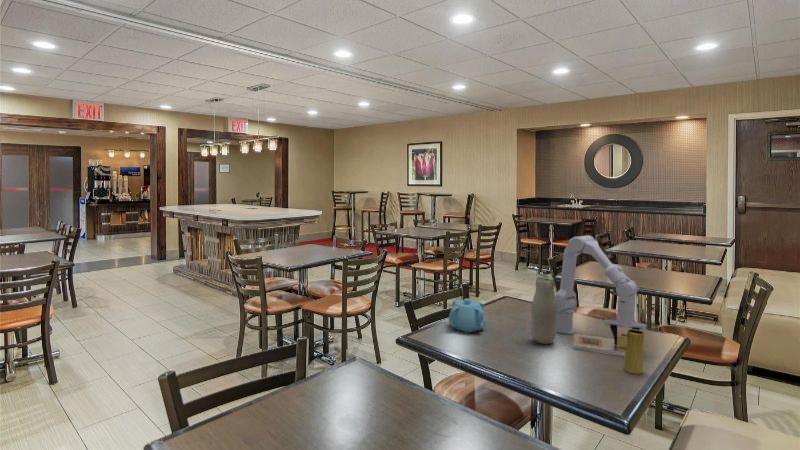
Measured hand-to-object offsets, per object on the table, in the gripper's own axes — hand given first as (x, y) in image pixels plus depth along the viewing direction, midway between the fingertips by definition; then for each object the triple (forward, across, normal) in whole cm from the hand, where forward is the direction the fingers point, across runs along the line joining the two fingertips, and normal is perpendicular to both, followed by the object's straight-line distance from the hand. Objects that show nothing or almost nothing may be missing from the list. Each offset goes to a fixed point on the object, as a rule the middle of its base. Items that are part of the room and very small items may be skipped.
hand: (623, 344), depth 178 cm
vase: (+2, +2, -20) cm, 20 cm away
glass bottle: (+2, -30, -5) cm, 30 cm away
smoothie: (+2, +1, +20) cm, 20 cm away
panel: (+2, -6, 0) cm, 6 cm away
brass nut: (+2, 0, 0) cm, 2 cm away
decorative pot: (+2, -63, -1) cm, 63 cm away
